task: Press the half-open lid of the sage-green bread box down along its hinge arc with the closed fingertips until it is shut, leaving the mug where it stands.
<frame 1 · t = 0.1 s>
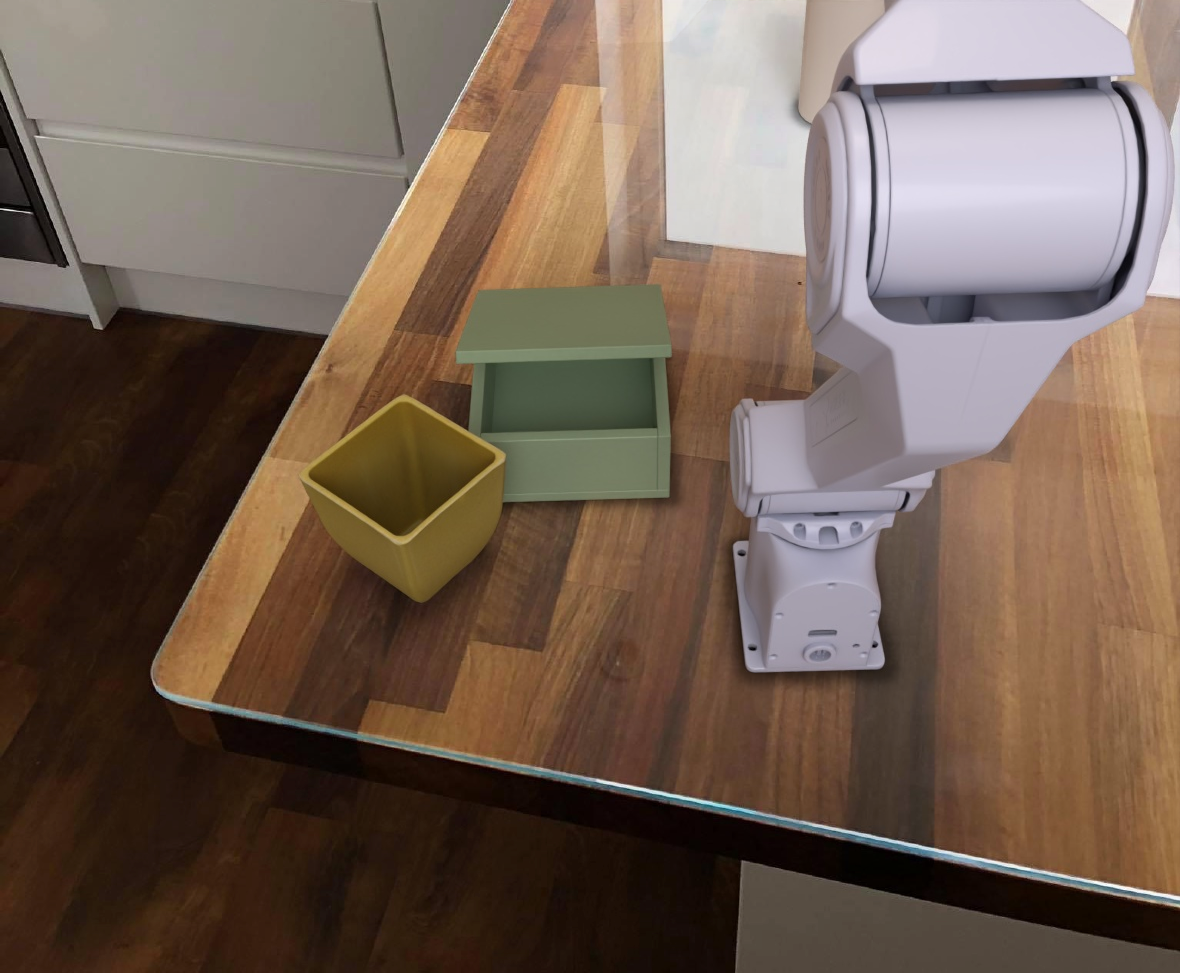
flower pot: (423, 562, 77), on the counter
bread box: (573, 426, 84), on the counter
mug: (839, 104, 111), on the counter
bread lid: (566, 320, 78), point 9 cm above the counter, hinge at 25.0°
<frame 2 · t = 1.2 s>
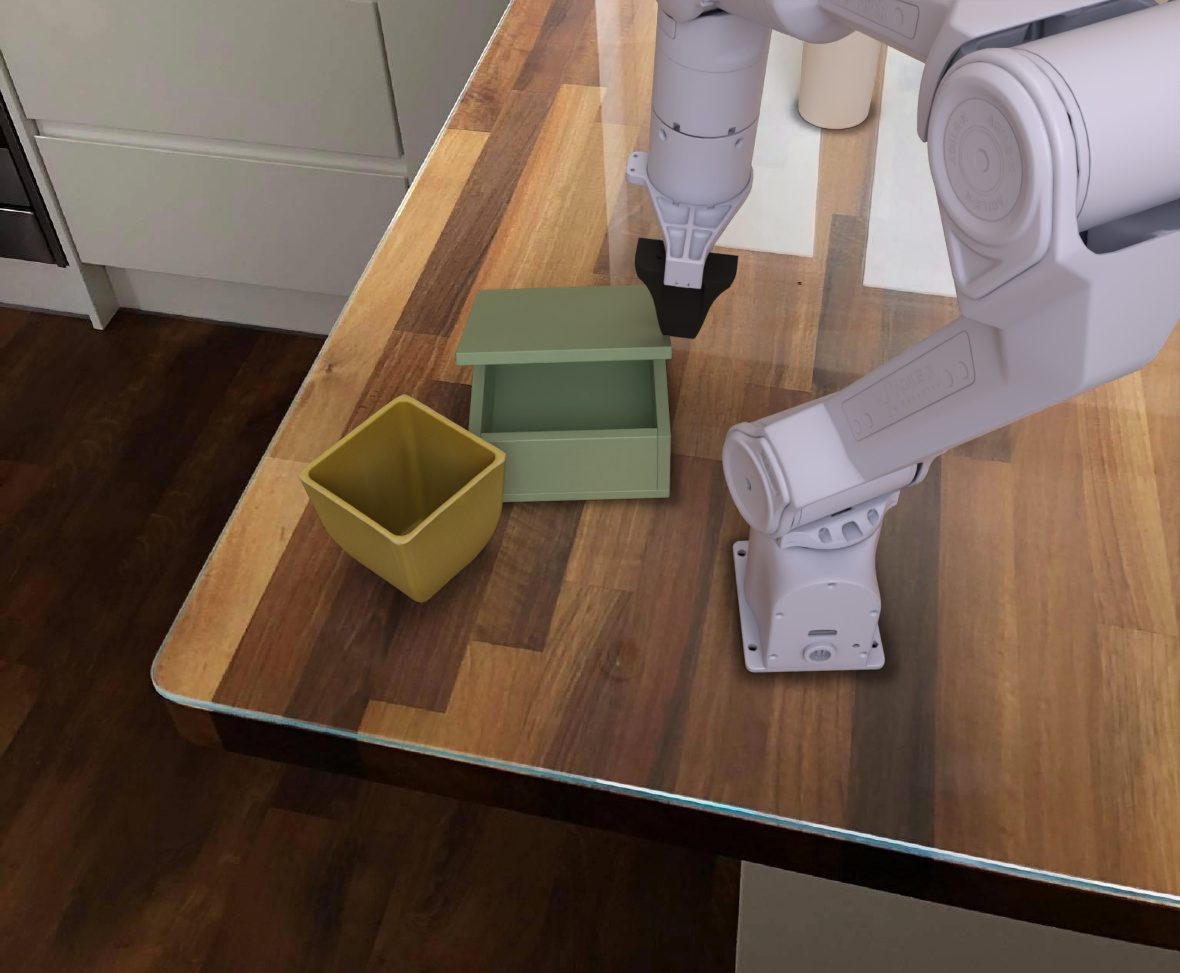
hand: (685, 288, 75), 12 cm above the counter, tool pointing down, fingers open, 7 cm apart
bread lid: (566, 321, 78), point 9 cm above the counter, hinge at 24.5°, touching gripper
everything else where it was.
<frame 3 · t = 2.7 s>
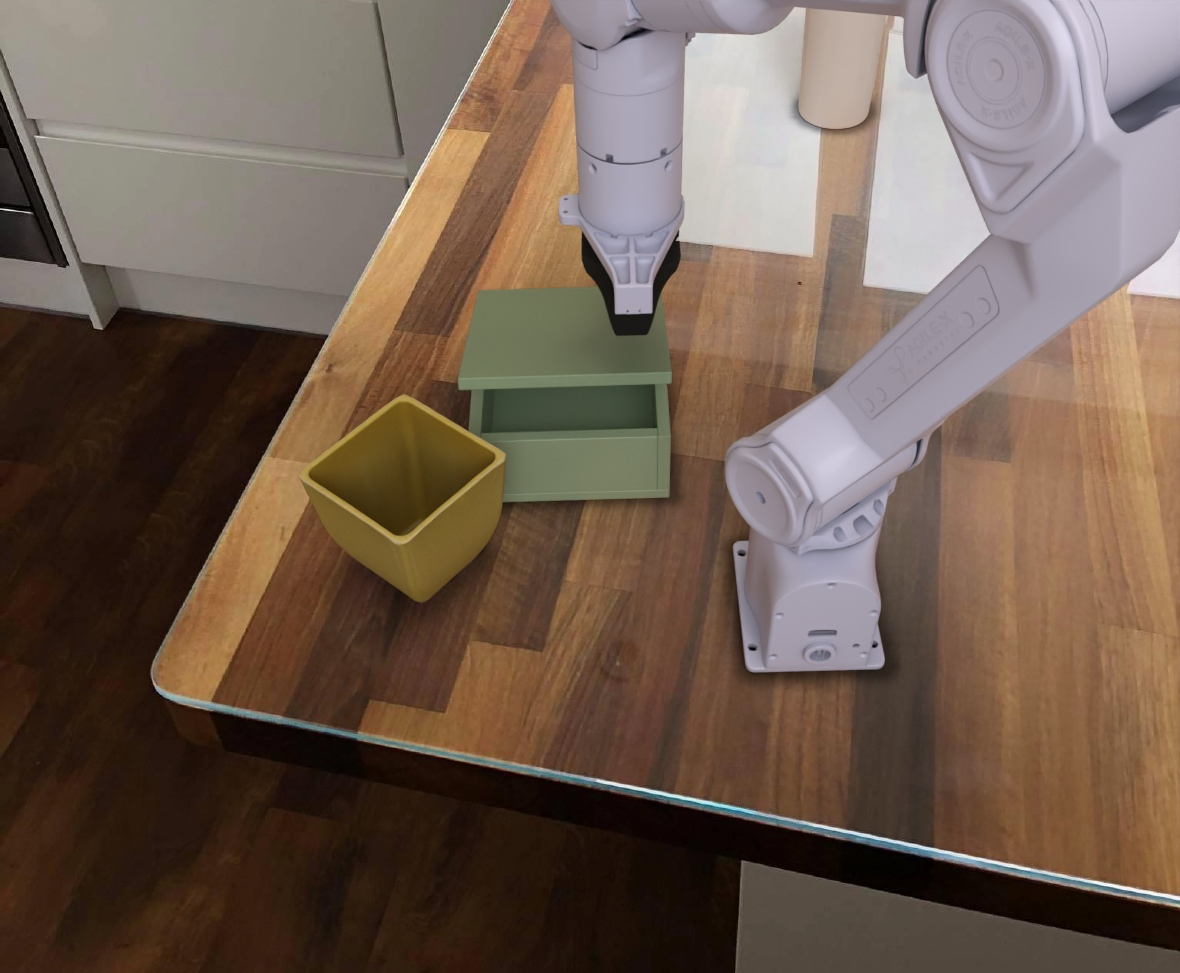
hand: (631, 328, 75), 10 cm above the counter, tool pointing down, fingers closed
bread lid: (567, 333, 78), point 9 cm above the counter, hinge at 18.3°
everything else where it was.
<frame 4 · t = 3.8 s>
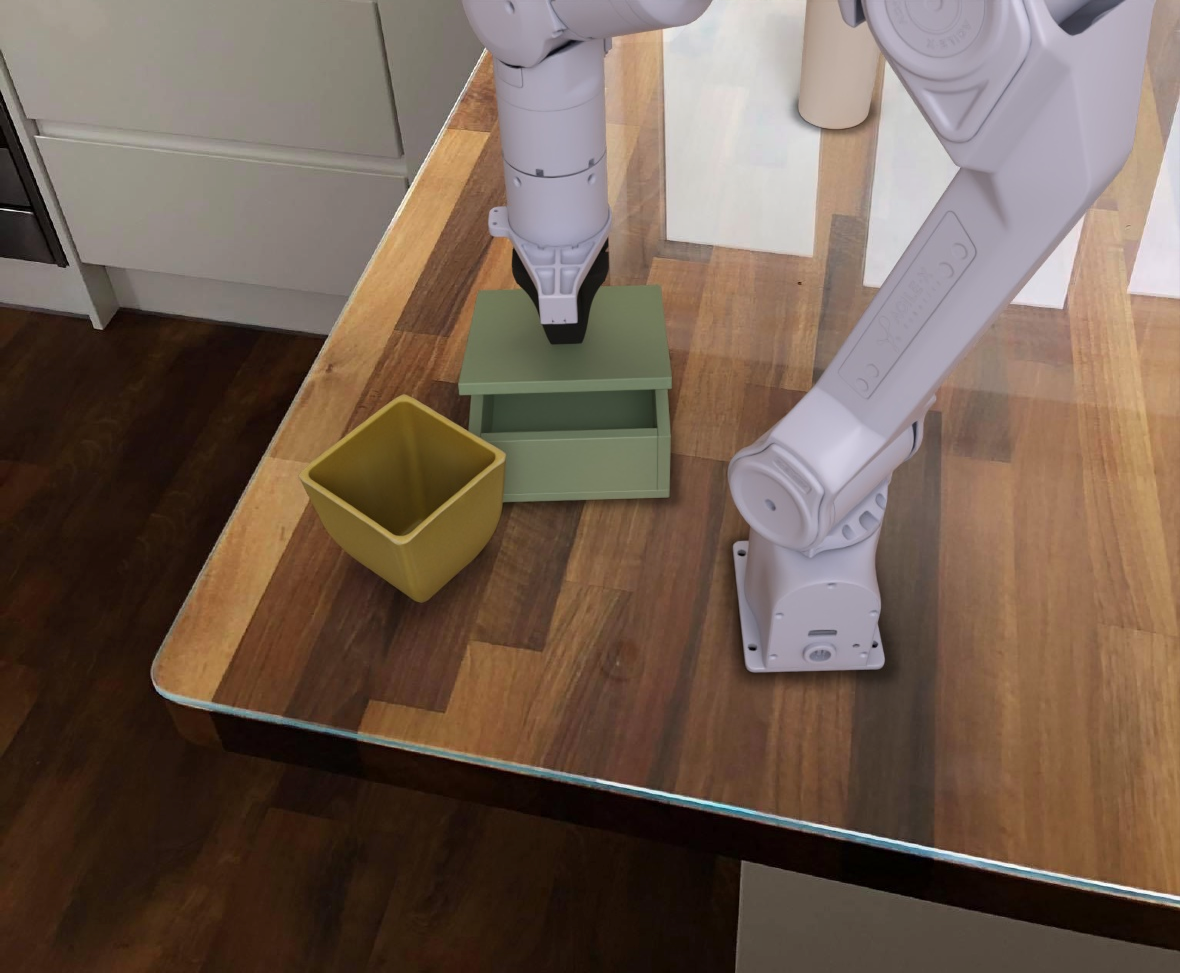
hand: (566, 336, 77), 9 cm above the counter, tool pointing down, fingers closed
bread lid: (567, 335, 78), point 8 cm above the counter, hinge at 16.9°, touching gripper
everything else where it was.
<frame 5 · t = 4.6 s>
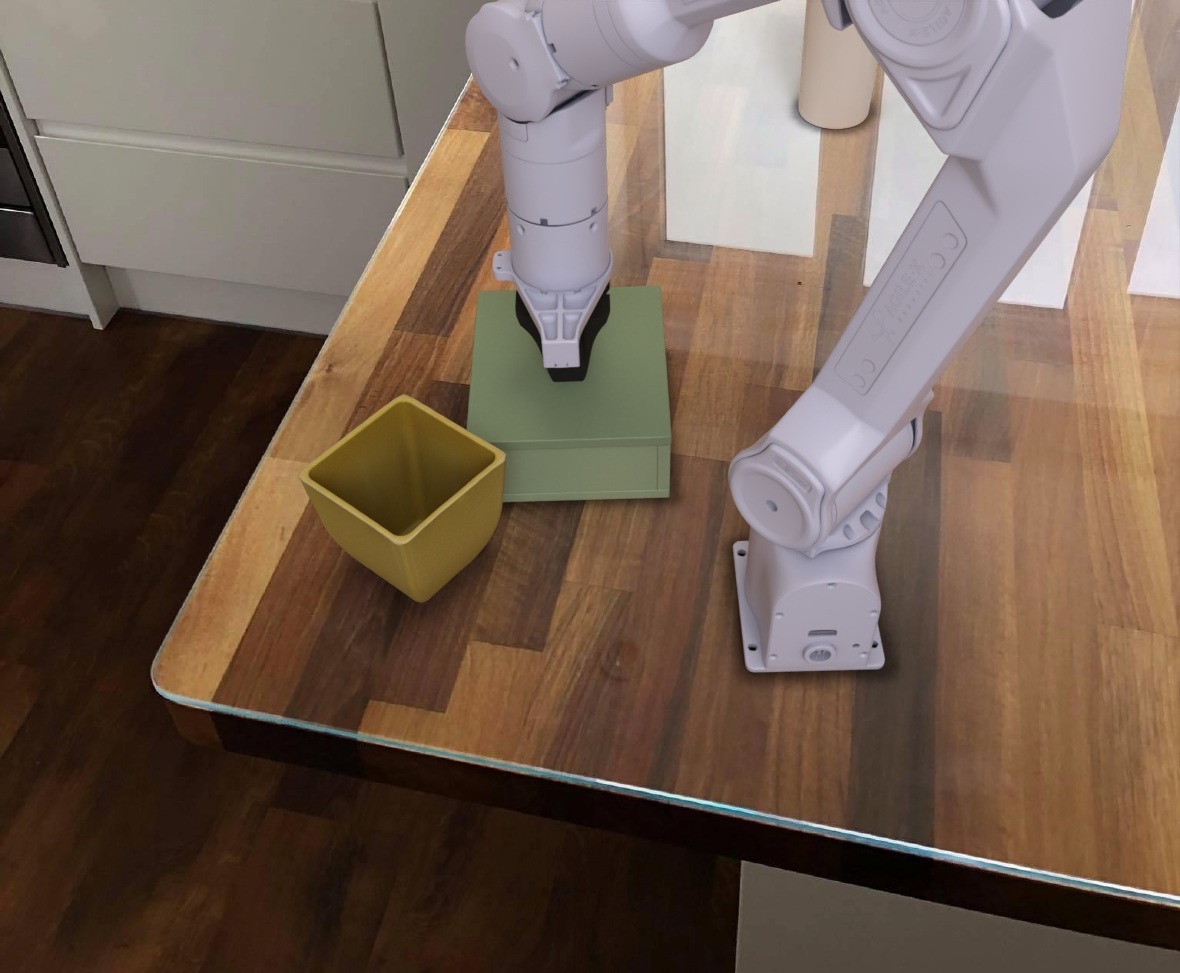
hand: (568, 374, 78), 7 cm above the counter, tool pointing down, fingers closed, pressing on bread lid
bread lid: (568, 363, 80), point 6 cm above the counter, hinge at -0.2°, touching bread box, gripper
everything else where it was.
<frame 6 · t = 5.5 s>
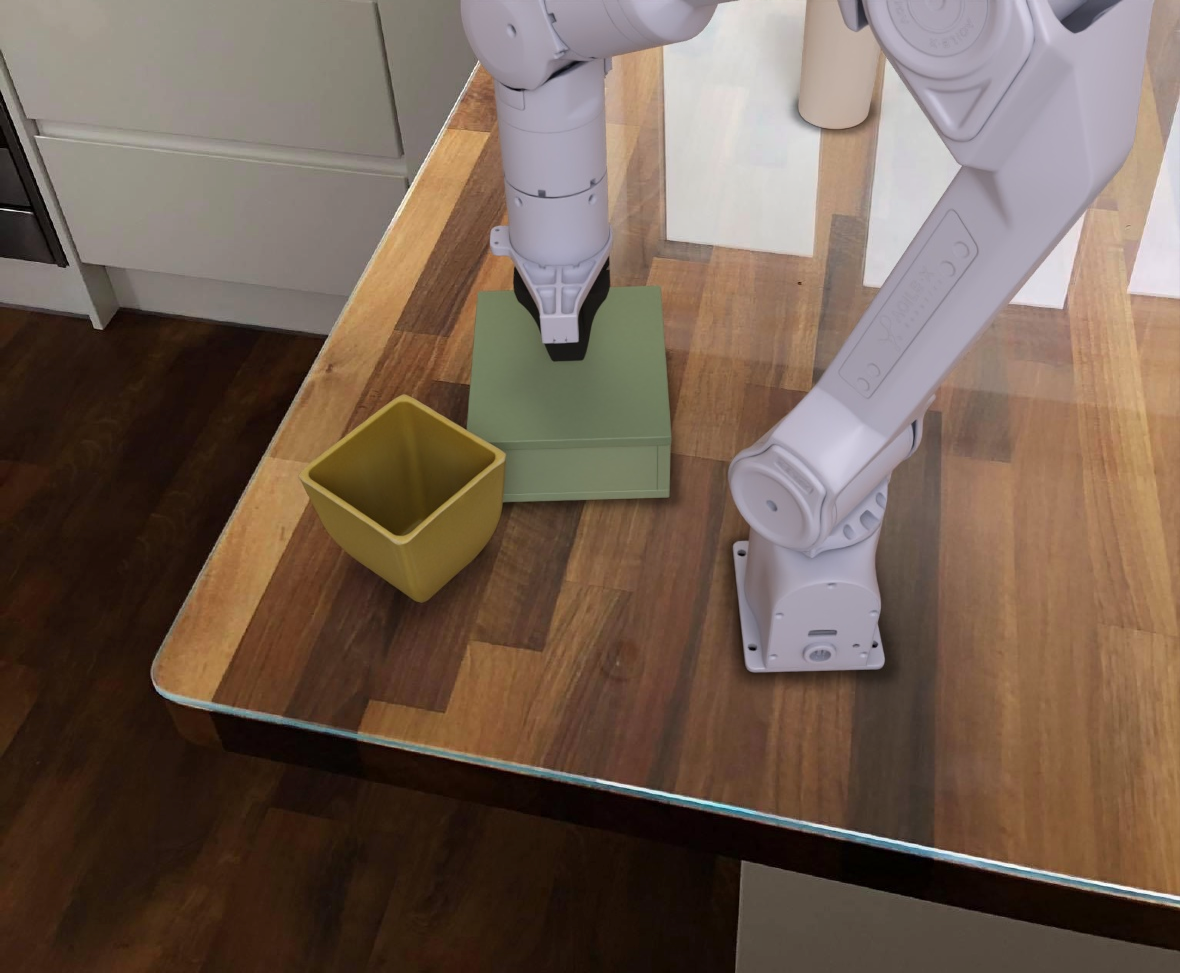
hand: (567, 353, 77), 8 cm above the counter, tool pointing down, fingers closed
bread lid: (568, 363, 80), point 6 cm above the counter, hinge at -0.2°, touching bread box
everything else where it was.
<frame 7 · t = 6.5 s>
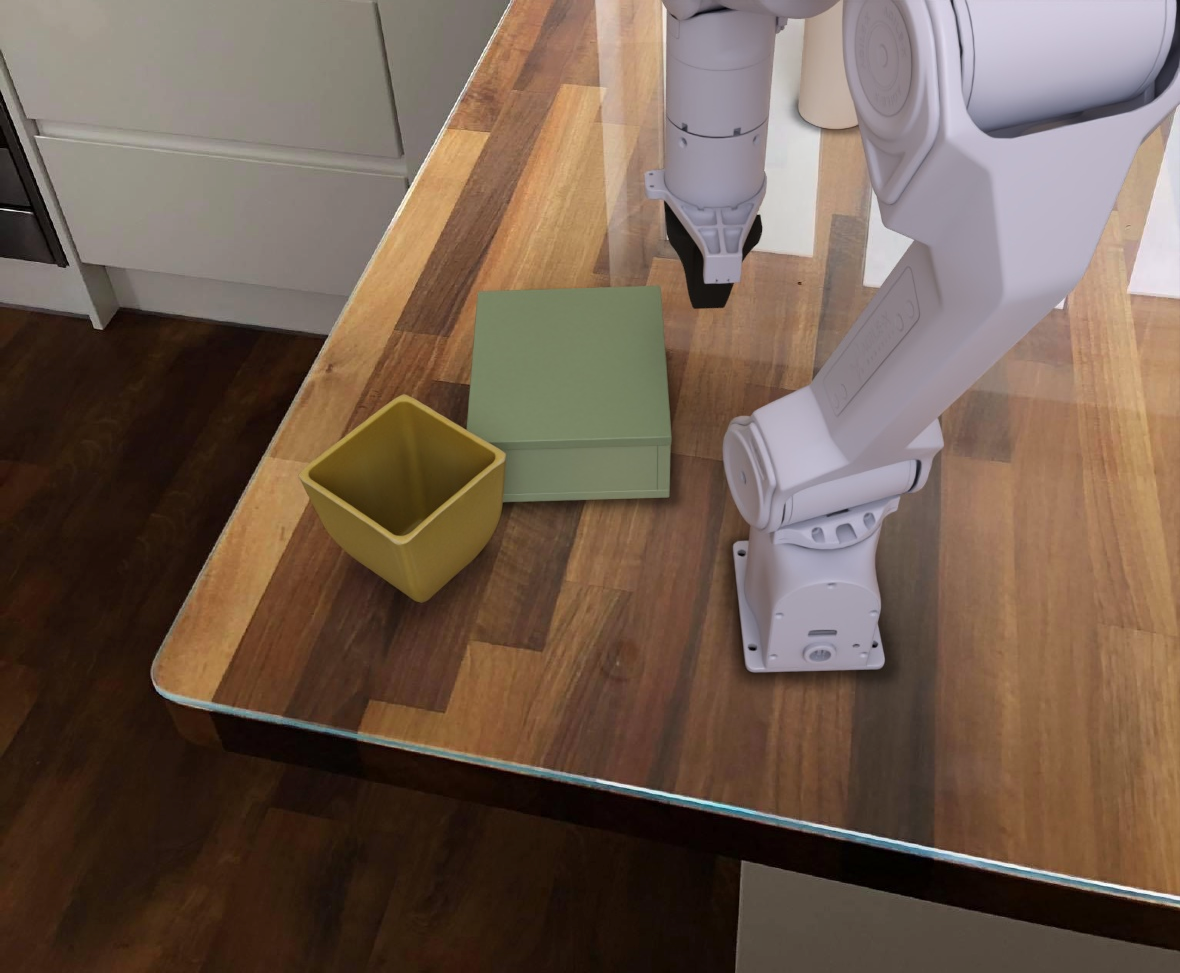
hand: (708, 301, 78), 10 cm above the counter, tool pointing down, fingers closed
nothing on the counter moved.
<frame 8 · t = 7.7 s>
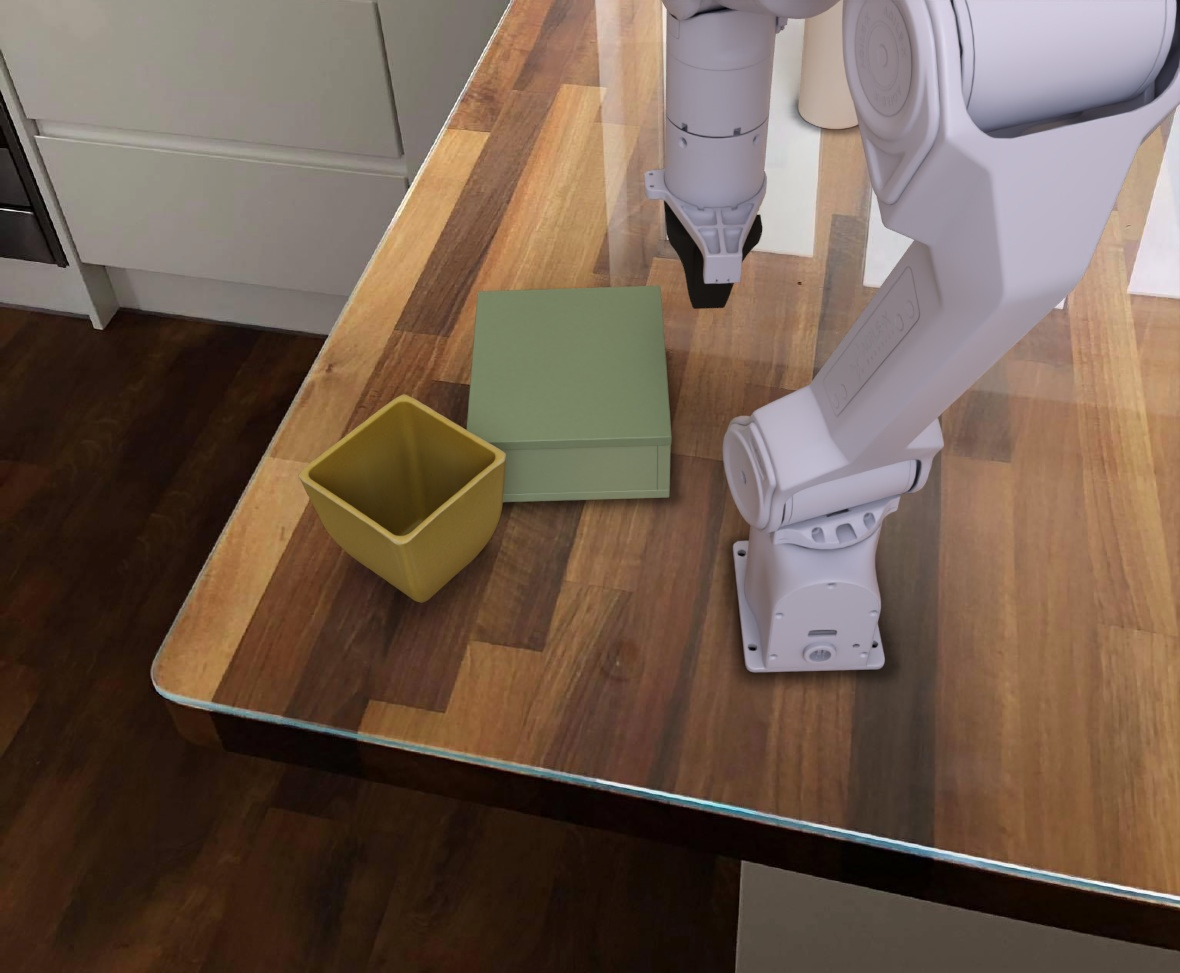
hand: (708, 301, 78), 10 cm above the counter, tool pointing down, fingers closed
nothing on the counter moved.
at the end: bread lid at +0° (first picture: +25°); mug moved 0.2 cm from its start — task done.
